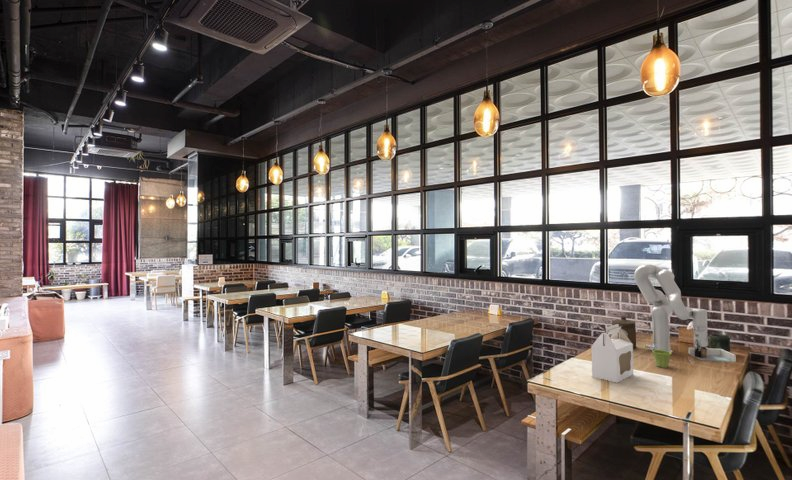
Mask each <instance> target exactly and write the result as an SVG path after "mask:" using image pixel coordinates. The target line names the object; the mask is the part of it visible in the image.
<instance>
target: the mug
mask: <svg viewBox="0 0 792 480" xmlns="http://www.w3.org/2000/svg"><path fill="white" fill-rule="evenodd" d="M731 337H732V336H730V335H727V334H721V333H710V334H708V340H709V345H708V346H706V348H709V349H723V350H725V351H727V352H730V353H731Z"/></svg>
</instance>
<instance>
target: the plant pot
mask: <svg viewBox="0 0 792 480" xmlns="http://www.w3.org/2000/svg"><path fill="white" fill-rule="evenodd" d="M652 353H653V355H654V361H655V365H656V367H659V368H665V369H666V368H669V363H670V357H671V355H672V353H671V352H669V351H664V350H653V351H652Z"/></svg>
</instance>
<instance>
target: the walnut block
mask: <svg viewBox="0 0 792 480" xmlns="http://www.w3.org/2000/svg"><path fill="white" fill-rule="evenodd" d="M700 351H701V357H700V358H706V357H707V349H703V348H701V349H700ZM693 357H694V358H695V350H694V356H693Z"/></svg>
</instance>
